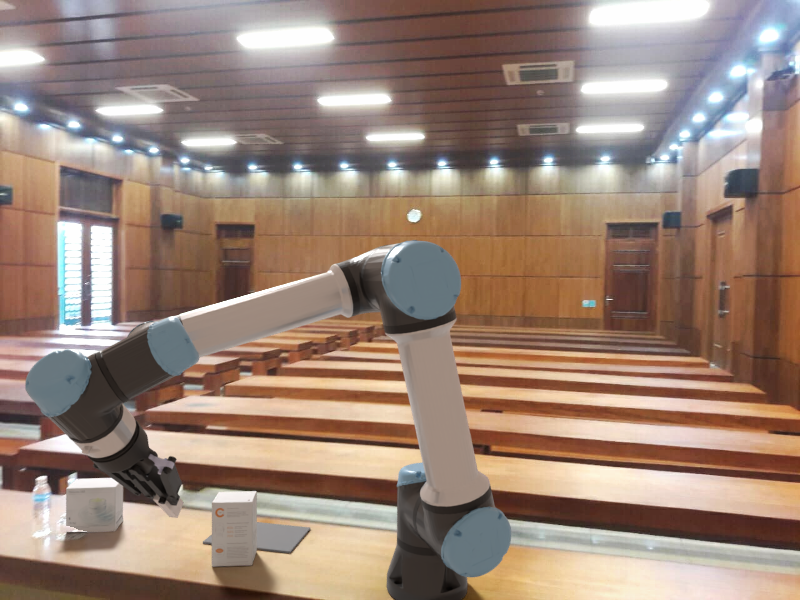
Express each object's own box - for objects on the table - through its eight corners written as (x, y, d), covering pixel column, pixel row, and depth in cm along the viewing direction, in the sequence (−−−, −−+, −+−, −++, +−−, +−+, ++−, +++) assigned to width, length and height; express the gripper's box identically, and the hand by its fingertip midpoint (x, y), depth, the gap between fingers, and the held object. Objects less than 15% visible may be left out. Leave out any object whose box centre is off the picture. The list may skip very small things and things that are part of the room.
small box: (256, 551, 123) (257, 490, 122) (252, 566, 116) (253, 501, 116) (217, 552, 122) (218, 491, 121) (210, 567, 115) (211, 502, 115)
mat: (310, 529, 134) (310, 527, 134) (290, 553, 122) (290, 551, 122) (230, 520, 138) (230, 519, 138) (202, 543, 126) (202, 541, 126)
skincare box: (64, 534, 129) (65, 487, 129) (76, 522, 136) (76, 478, 135) (115, 532, 131) (115, 485, 131) (123, 520, 137) (124, 476, 137)
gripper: (55, 456, 80) (132, 527, 97) (140, 464, 78) (203, 535, 95) (83, 410, 85) (151, 485, 102) (164, 416, 83) (220, 492, 100)
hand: (176, 509), depth 98 cm, fingers closed
